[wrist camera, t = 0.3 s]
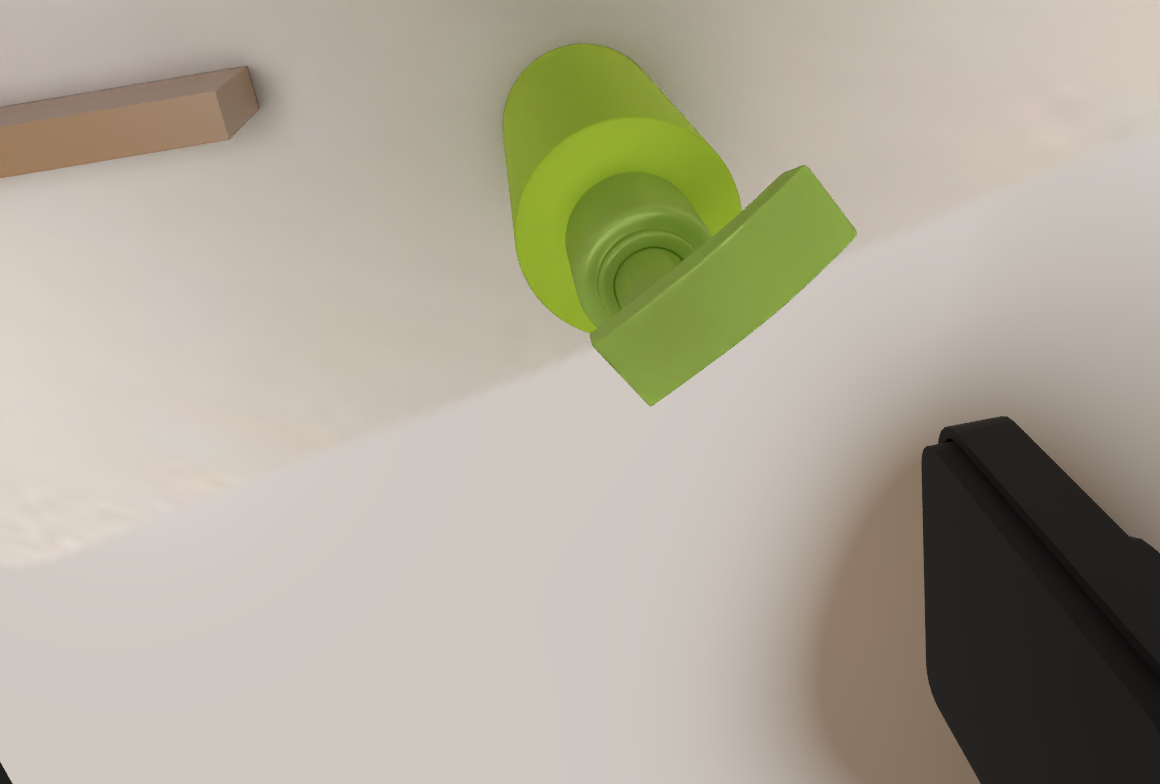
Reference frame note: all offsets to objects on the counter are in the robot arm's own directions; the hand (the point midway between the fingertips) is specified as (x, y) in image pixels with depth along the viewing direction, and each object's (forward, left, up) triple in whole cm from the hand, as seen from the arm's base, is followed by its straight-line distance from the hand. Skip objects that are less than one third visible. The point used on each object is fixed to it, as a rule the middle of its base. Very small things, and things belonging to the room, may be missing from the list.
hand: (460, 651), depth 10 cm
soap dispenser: (+2, +4, -31) cm, 31 cm away
